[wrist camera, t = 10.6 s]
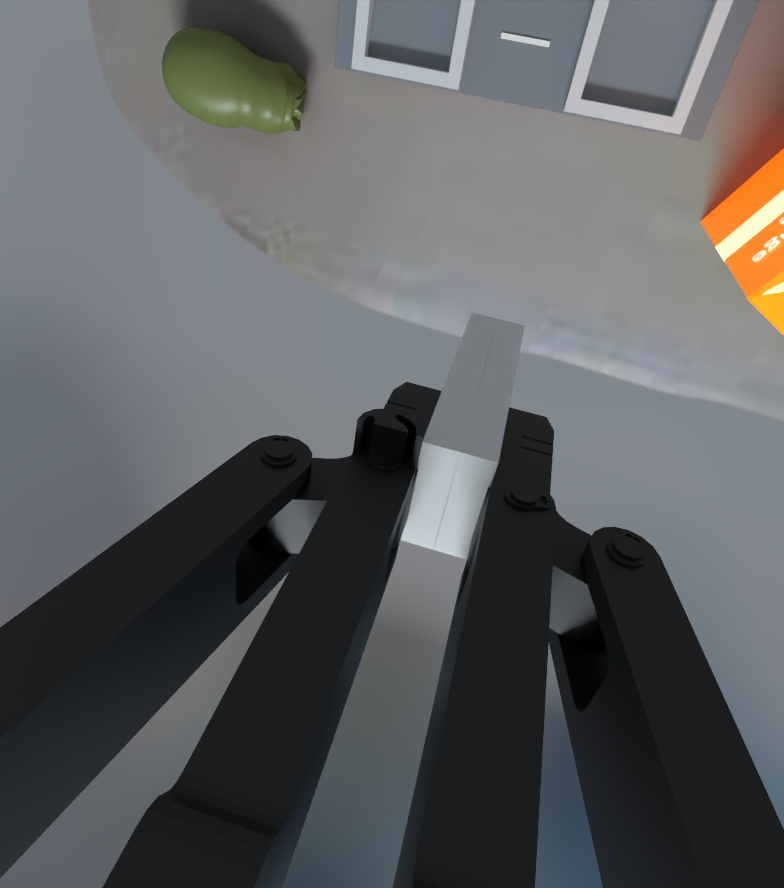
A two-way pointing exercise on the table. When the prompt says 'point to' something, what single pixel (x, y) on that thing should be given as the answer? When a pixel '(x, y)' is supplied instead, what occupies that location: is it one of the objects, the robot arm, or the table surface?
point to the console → (557, 53)
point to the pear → (231, 83)
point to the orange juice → (755, 238)
